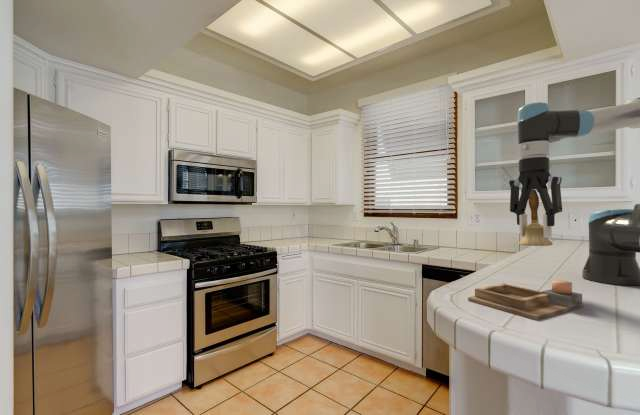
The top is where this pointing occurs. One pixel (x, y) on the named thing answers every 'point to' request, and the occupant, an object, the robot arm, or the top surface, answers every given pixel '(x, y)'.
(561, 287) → the button
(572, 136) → the robot arm
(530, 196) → the hand bell
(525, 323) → the top surface
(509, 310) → the station
